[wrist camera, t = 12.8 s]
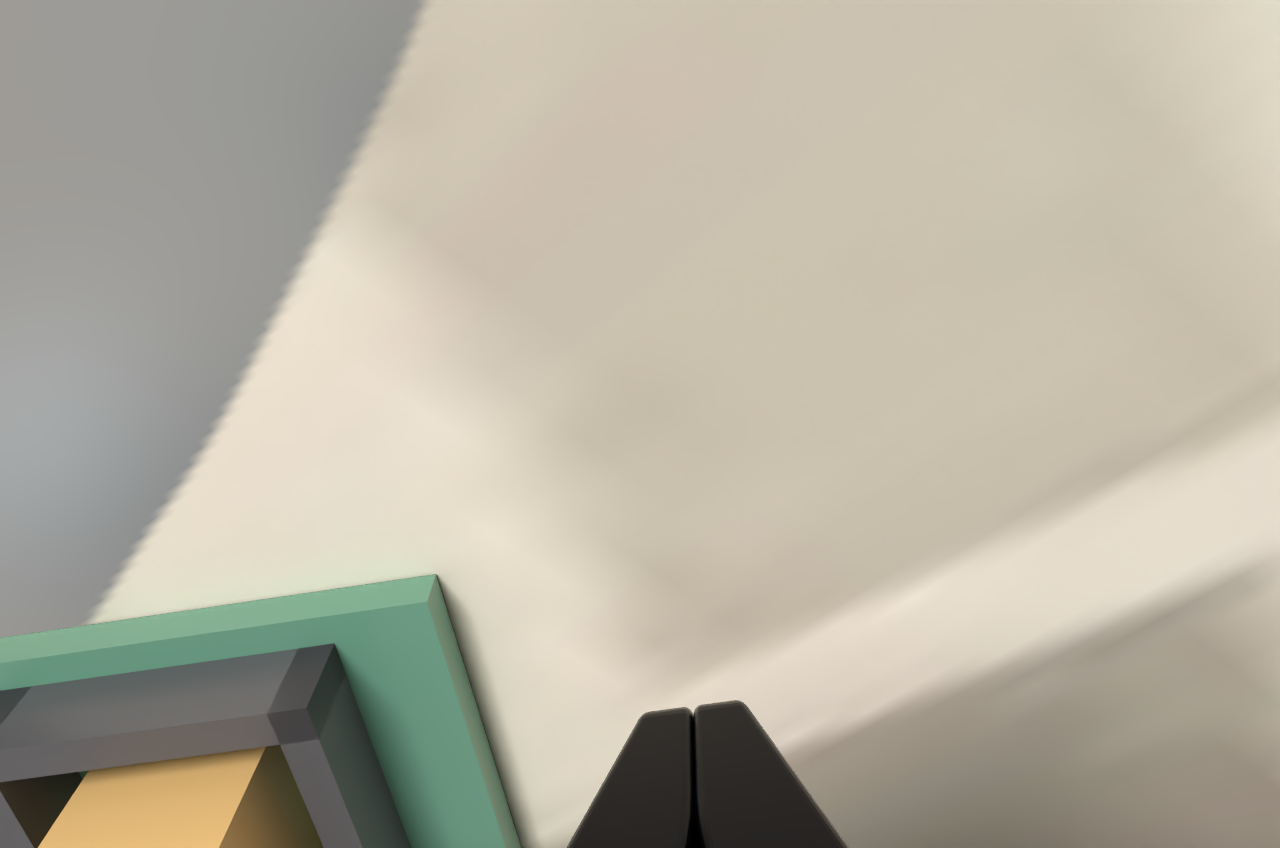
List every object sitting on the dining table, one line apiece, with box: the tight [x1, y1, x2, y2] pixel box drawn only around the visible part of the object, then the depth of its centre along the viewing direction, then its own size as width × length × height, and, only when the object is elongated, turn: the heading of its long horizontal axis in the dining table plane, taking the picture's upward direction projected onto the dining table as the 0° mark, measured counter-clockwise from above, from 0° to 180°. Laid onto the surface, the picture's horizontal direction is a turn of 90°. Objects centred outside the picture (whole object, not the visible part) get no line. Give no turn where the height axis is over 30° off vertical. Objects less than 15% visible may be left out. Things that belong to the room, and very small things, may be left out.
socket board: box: [0, 574, 521, 848], centre depth 24 cm, size 11×12×3 cm
